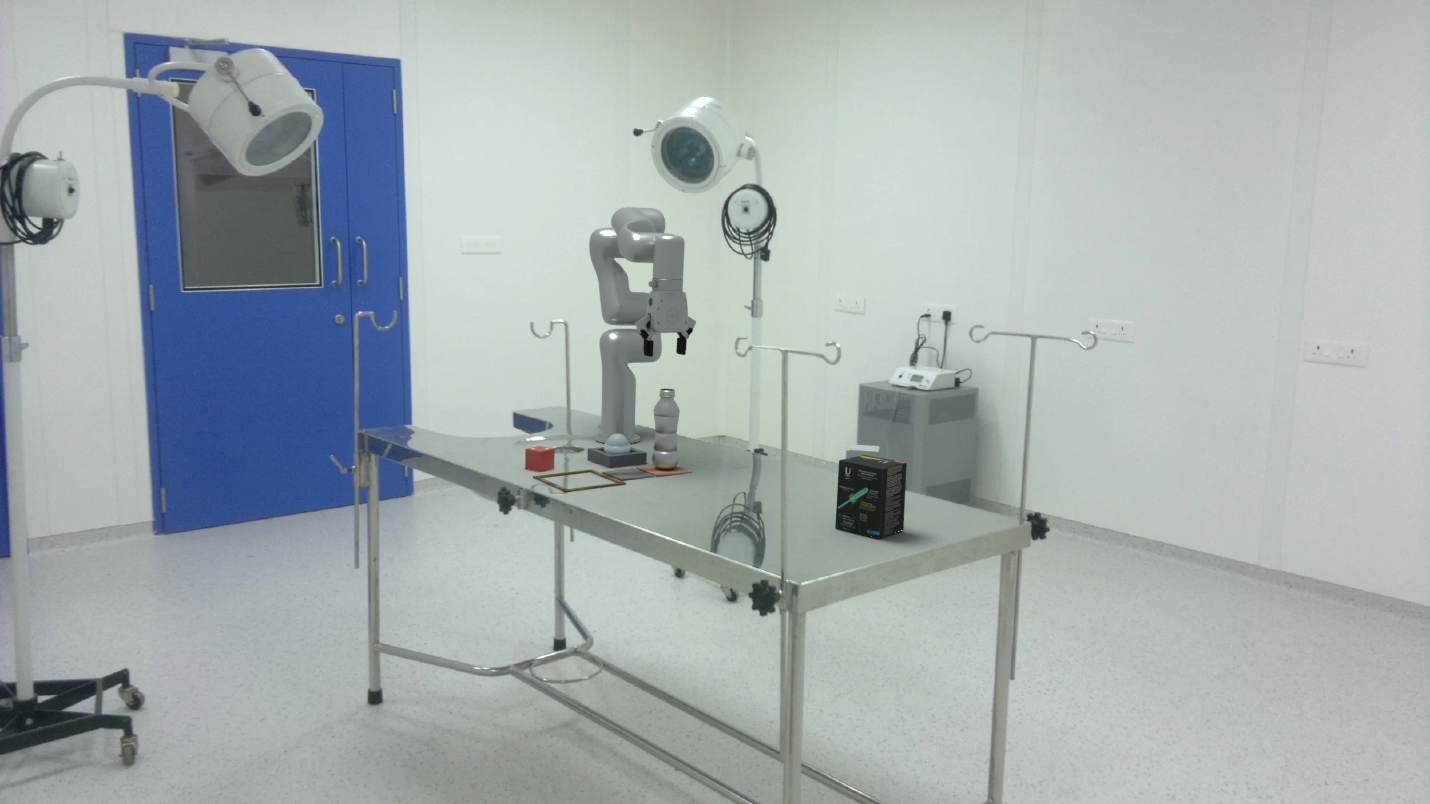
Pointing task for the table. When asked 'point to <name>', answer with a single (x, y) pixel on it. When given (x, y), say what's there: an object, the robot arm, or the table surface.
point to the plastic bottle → (666, 431)
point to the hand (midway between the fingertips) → (664, 355)
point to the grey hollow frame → (617, 458)
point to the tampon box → (871, 496)
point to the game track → (617, 476)
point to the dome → (617, 444)
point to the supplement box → (862, 450)
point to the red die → (539, 458)
